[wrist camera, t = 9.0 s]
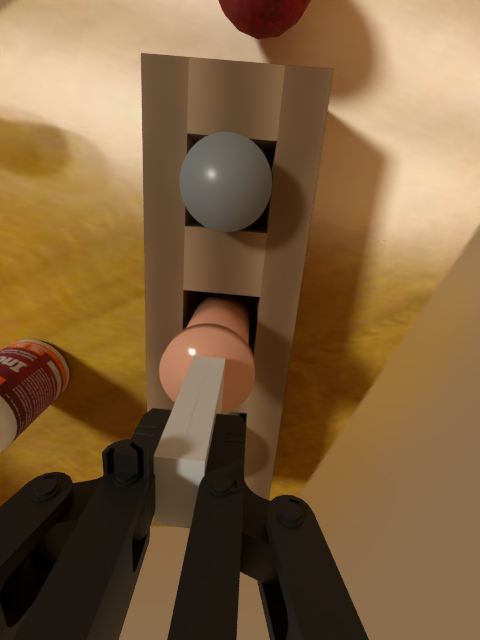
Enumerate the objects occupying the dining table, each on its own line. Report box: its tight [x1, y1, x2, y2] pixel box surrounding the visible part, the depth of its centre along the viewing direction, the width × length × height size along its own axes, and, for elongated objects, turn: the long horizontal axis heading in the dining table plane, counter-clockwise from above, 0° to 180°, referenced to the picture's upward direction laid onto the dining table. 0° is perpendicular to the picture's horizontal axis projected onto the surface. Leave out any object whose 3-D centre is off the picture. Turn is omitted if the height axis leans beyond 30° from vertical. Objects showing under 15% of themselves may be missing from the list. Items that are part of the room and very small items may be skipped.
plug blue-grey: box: [180, 132, 272, 232], centre depth 21 cm, size 5×5×8 cm
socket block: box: [141, 53, 334, 500], centre depth 25 cm, size 10×30×6 cm, turn 175°
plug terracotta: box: [159, 293, 255, 414], centre depth 21 cm, size 5×5×8 cm
